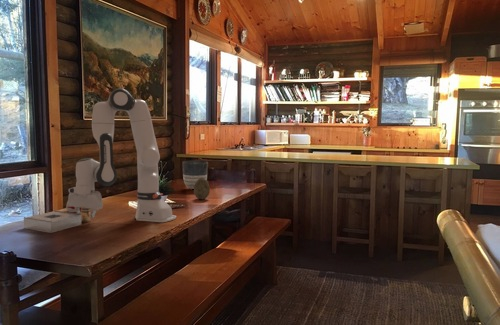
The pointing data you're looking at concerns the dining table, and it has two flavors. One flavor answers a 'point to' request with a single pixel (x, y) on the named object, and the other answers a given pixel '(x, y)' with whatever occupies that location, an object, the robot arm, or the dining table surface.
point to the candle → (71, 208)
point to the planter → (194, 172)
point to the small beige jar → (85, 215)
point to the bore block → (52, 221)
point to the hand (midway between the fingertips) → (85, 216)
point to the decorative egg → (201, 188)
